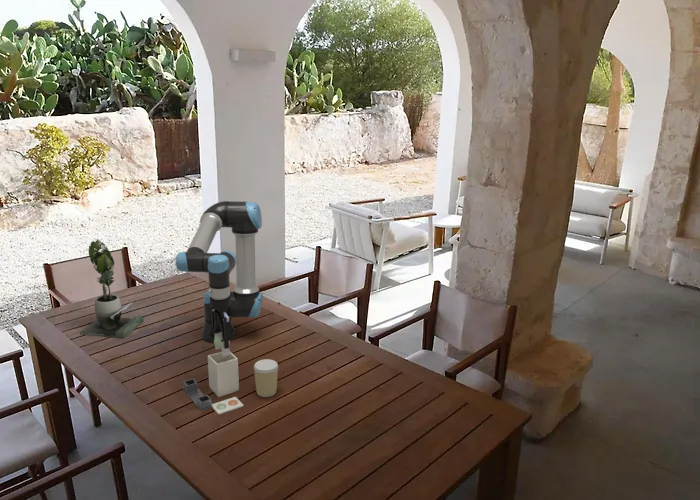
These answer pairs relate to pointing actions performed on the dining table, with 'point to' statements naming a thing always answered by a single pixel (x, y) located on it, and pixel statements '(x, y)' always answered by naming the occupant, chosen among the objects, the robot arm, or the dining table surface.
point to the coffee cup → (266, 377)
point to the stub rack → (197, 395)
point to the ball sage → (218, 341)
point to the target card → (227, 405)
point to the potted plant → (108, 300)
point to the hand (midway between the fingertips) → (222, 351)
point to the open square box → (223, 373)
